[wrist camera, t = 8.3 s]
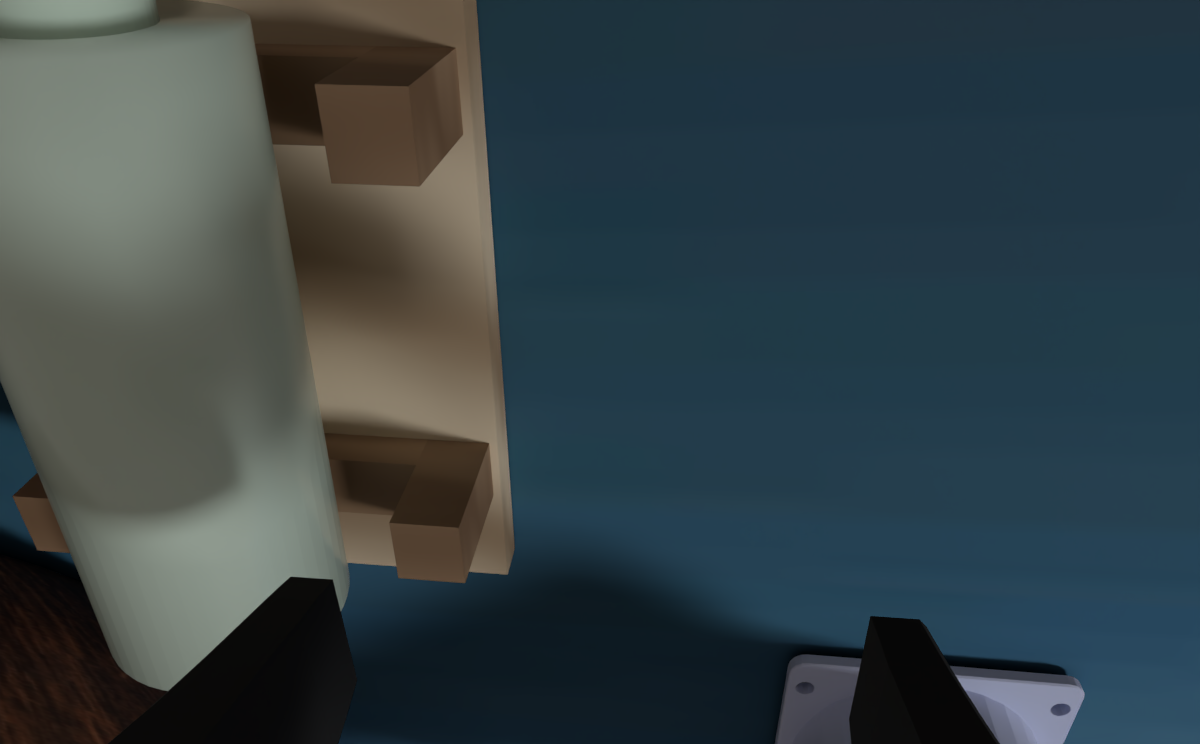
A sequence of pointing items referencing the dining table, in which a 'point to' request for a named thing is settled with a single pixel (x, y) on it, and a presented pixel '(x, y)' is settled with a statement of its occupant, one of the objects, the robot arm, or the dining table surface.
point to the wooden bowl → (59, 664)
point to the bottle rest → (388, 275)
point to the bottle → (158, 321)
